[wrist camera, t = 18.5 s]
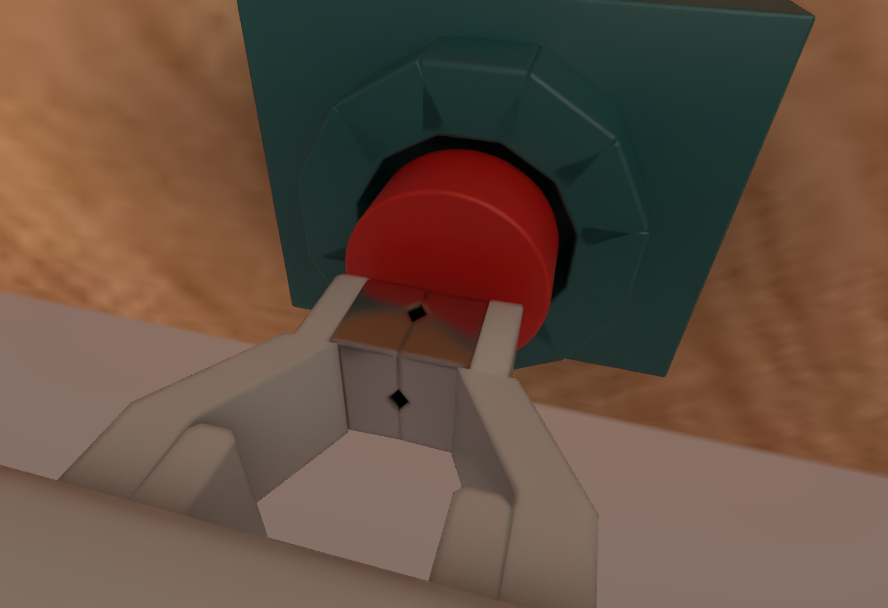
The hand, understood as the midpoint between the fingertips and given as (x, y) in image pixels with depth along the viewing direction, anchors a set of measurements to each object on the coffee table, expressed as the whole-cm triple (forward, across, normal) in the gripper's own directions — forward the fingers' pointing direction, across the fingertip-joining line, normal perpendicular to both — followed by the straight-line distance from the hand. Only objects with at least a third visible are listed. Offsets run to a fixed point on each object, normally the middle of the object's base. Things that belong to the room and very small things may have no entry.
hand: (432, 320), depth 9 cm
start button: (+2, 0, 0) cm, 2 cm away
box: (+6, 0, 0) cm, 6 cm away
